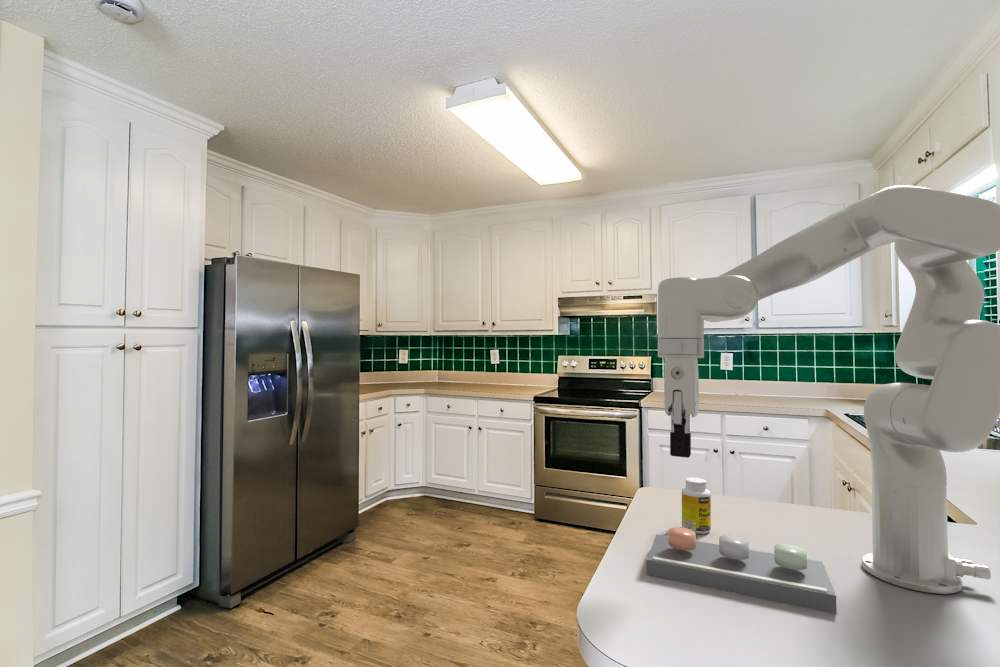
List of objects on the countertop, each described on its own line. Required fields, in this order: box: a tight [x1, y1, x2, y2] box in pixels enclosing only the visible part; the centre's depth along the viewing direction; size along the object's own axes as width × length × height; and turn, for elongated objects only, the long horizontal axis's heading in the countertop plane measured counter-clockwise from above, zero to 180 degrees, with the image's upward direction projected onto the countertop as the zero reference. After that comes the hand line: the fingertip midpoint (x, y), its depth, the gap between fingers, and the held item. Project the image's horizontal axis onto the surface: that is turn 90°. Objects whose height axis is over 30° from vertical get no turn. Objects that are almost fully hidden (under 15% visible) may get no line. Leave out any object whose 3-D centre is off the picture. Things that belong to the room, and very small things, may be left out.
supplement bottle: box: [681, 477, 712, 535], centre depth 99 cm, size 6×6×10 cm
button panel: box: [645, 534, 837, 614], centre depth 79 cm, size 26×12×3 cm, turn 64°
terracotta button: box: [667, 526, 697, 550], centre depth 83 cm, size 4×4×2 cm
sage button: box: [773, 543, 808, 570], centre depth 76 cm, size 4×4×2 cm
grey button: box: [718, 534, 750, 560], centre depth 79 cm, size 4×4×2 cm
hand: (680, 455), depth 83 cm, fingers closed
